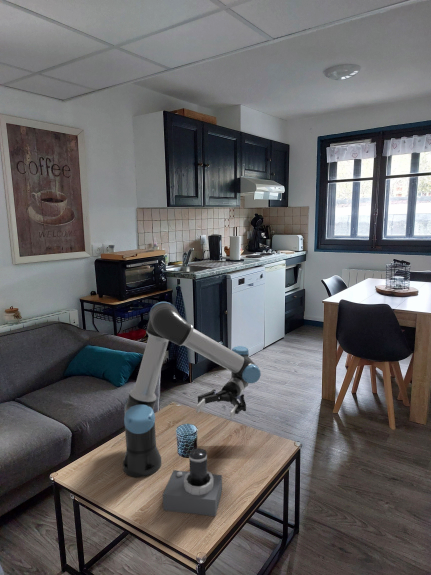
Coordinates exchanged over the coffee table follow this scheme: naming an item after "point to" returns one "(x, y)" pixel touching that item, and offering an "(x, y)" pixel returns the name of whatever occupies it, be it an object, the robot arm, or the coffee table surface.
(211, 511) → the camera body
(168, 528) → the coffee table surface
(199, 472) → the lens
